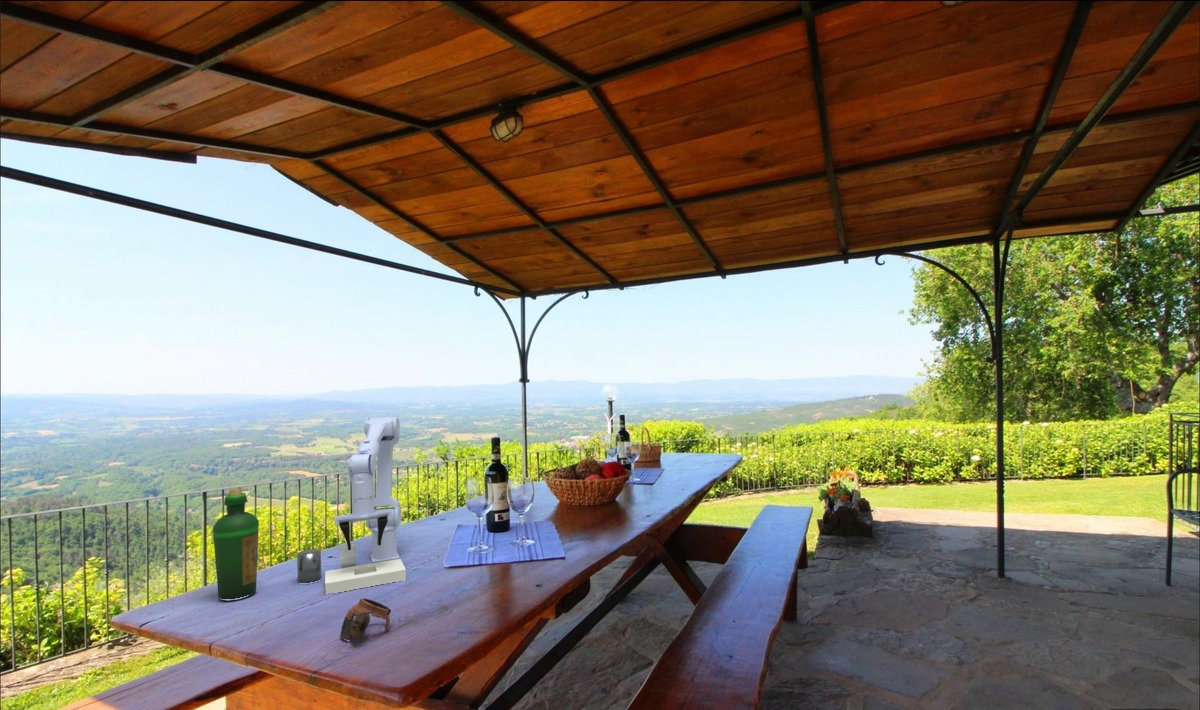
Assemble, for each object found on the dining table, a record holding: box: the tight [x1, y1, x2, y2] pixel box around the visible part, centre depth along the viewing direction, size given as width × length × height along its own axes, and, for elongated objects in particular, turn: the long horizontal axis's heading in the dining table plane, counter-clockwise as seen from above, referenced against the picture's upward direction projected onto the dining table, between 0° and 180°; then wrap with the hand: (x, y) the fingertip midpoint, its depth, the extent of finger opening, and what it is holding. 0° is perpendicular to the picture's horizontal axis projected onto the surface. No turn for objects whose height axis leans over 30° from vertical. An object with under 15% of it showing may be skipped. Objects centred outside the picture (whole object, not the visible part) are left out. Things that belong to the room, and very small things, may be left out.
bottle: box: [212, 487, 260, 599], centre depth 154 cm, size 11×11×28 cm
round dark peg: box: [296, 548, 322, 584], centre depth 164 cm, size 6×6×8 cm
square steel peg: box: [339, 543, 357, 569], centre depth 168 cm, size 4×4×8 cm
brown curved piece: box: [339, 598, 392, 641], centre depth 125 cm, size 12×10×8 cm
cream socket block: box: [324, 558, 407, 595], centre depth 161 cm, size 12×20×3 cm, turn 115°
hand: (364, 546), depth 161 cm, fingers open, 7 cm apart
